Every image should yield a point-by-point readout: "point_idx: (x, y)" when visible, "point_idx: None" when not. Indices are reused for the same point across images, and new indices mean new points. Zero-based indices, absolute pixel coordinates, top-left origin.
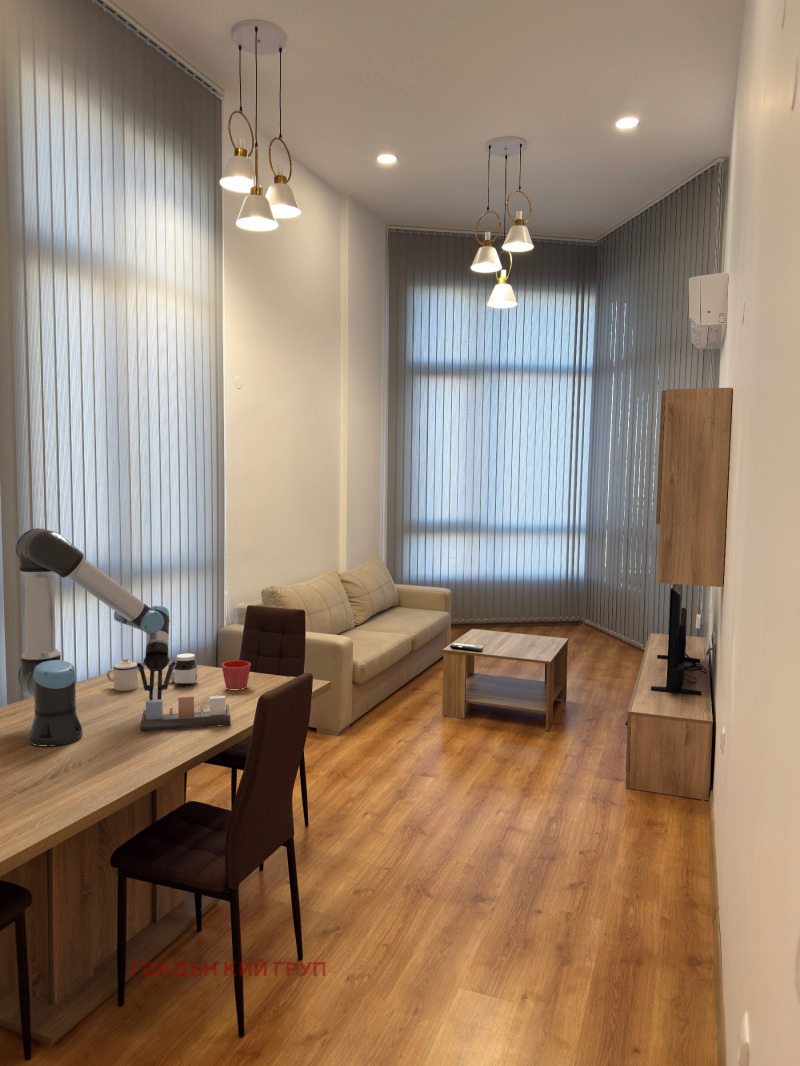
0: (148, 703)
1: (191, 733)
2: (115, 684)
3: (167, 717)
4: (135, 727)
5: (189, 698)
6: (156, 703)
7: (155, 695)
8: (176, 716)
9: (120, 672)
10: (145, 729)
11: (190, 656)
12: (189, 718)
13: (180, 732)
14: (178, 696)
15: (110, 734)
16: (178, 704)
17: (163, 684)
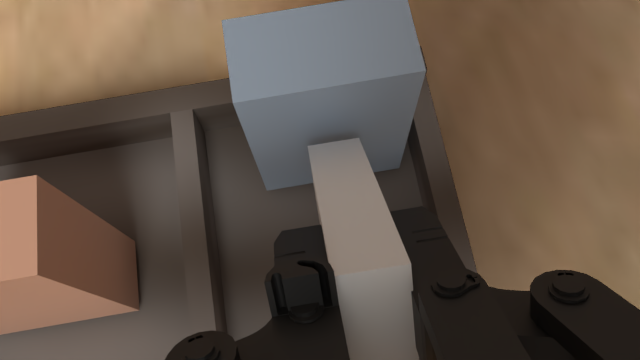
0: (375, 2)
1: (42, 51)
2: None
3: (247, 320)
4: (487, 195)
5: None
6: (286, 18)
7: (346, 204)
8: (166, 345)
9: None
10: None
11: None
12: (16, 116)
13: (120, 72)
14: (36, 228)
15: (618, 53)
16: (76, 203)
17: (234, 353)
